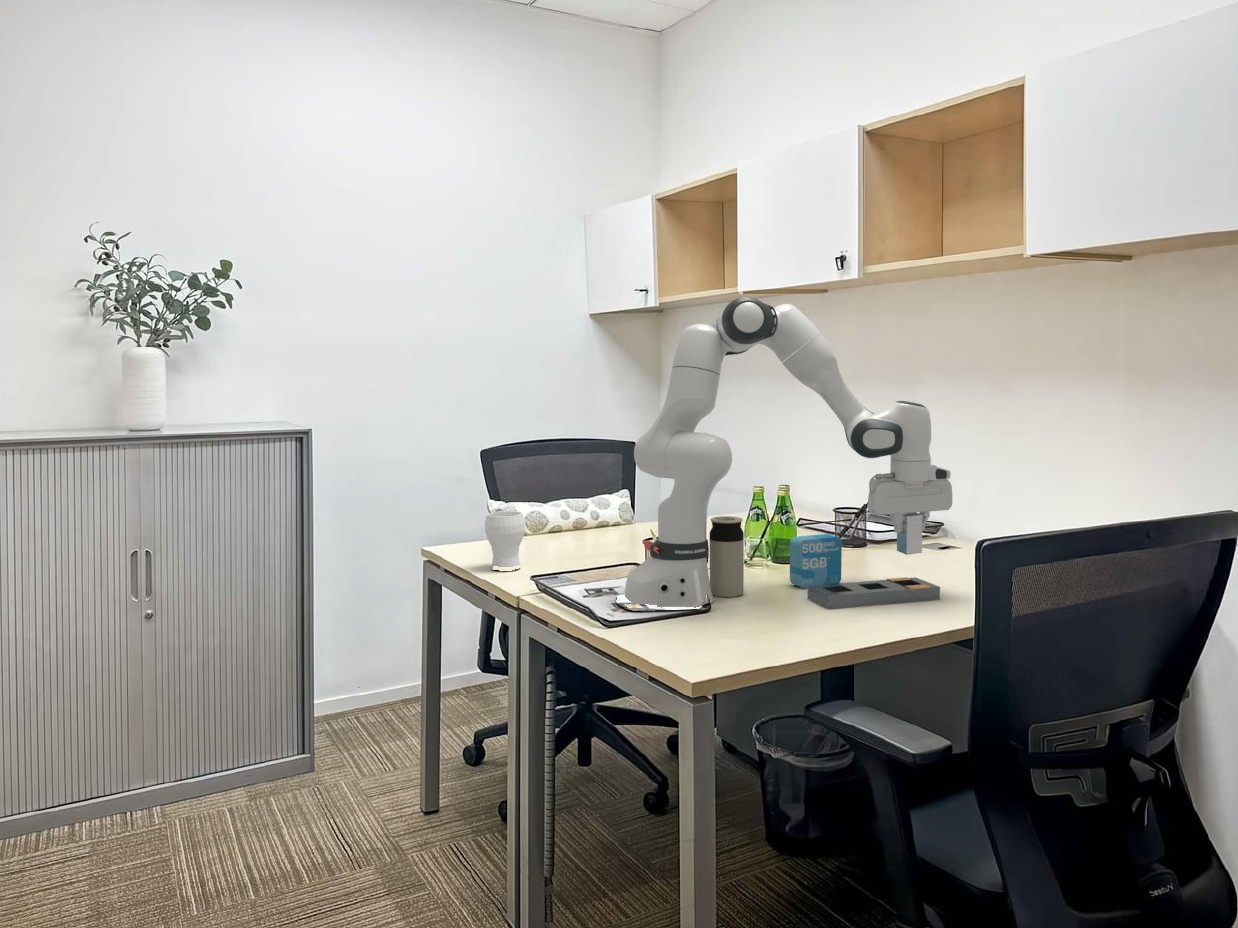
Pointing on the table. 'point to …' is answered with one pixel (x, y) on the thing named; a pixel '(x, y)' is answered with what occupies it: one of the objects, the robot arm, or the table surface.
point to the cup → (505, 536)
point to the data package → (815, 560)
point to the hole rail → (873, 593)
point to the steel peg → (910, 534)
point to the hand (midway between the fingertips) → (909, 531)
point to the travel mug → (726, 557)
